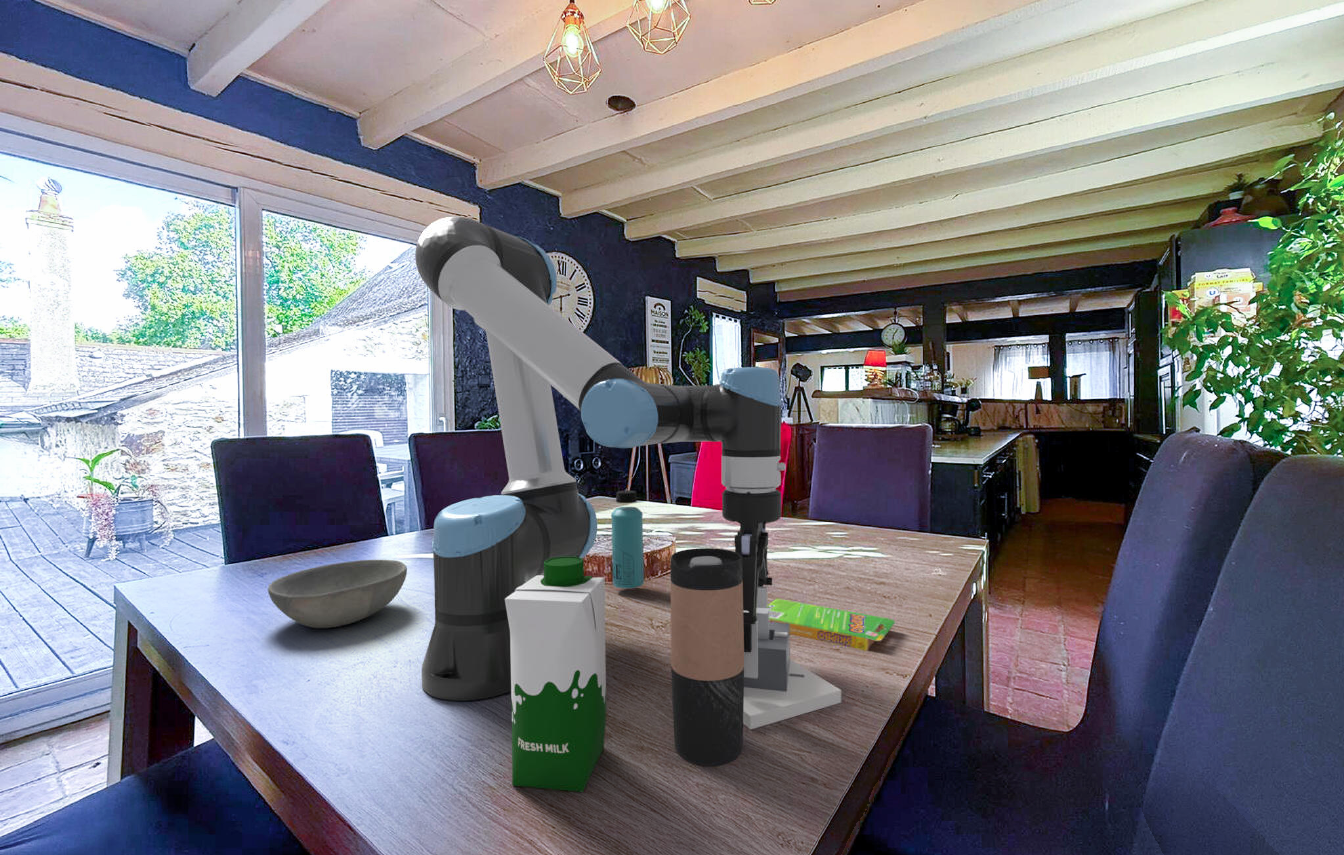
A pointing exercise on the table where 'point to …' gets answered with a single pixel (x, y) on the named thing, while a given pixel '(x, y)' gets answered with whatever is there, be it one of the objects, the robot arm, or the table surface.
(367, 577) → the bowl
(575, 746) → the milk carton
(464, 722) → the table surface
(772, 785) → the table surface
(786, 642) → the gray slotted box
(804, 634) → the game box
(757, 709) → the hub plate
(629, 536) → the beverage bottle
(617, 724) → the table surface
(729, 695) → the travel mug
